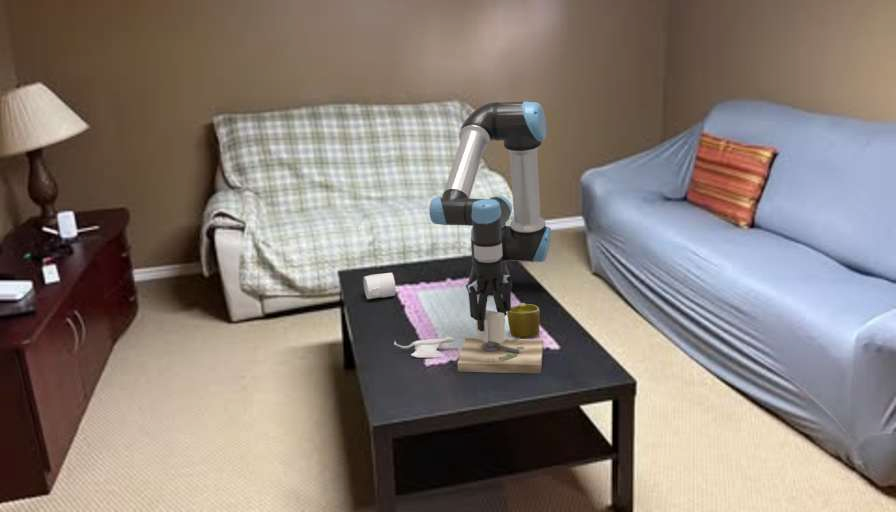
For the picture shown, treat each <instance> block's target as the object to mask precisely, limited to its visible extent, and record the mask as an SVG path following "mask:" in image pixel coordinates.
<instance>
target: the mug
mask: <svg viewBox="0 0 896 512" xmlns="http://www.w3.org/2000/svg"><path fill="white" fill-rule="evenodd" d="M540 312H541V311H540V307H539V306H537V305H535V304H529V303H527V304H526V303H525V302H521V303H519V304H517V305H511V310H510V311H507V312H506V313H507V315H506V316H507V323H508V328H509V332H510V335H511V336H512V337H513V338H514V339H516V338H518V339H528V338H529V339H530V338H534V337H538V336H539V334H540V329H541V328H540Z"/></svg>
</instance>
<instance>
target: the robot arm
mask: <svg viewBox="0 0 896 512" xmlns="http://www.w3.org/2000/svg"><path fill="white" fill-rule="evenodd" d="M546 119H547V118H546V115H545V111H544V108H543V106H542V105H541V104H540V103H539V102H534V101H533V102H532V101H526V100H525V101H505V102H502V101H501V102H500V101H499V102H496V101H492V102H488V103H485V104H483V105H481V106H479V107H478V108H476V109H475V110H474V111H473V112H472V113H470V114H469V116H468V117H467V118H466V119H465V120H464V122H463V123H462V125H461V128H460V131H459V134H458V138H459V144H458V148H457V151H456V154H455V157H454V160H453V163H452V166H451V169H450V172H449V174H448V175H449V176H448V178H447V181H446V183H445V186H444V191H443V193H442V196H439V197H433V198H432V199H431V201H430V204H429V208H428V209H429V211H428V212H429V213H428V214H429V218H430V221H431V222H432V224H435V225H439V226H440V225H441V226H442V225H443V226H468V227H470V226H471V227H472V228H471V230H470V244H471V245H470V246H471V247H470V248H471V265H472V266H471V269H470V270H471V271H470V275H469V277H468V280H467V284H466V286H465V288H466V290H467V293H468V303H469V313H470V315H469V316H470V318H471V319H473V320H475V321H476V320H477V323H478V330H480V335H481V340H482V341H484V342H485V343H487V342H488V325H487V320H486V319H485V313H486V310H487V304H488V298H489V295H490V296H493V300H494V304H495V307H496V308H495V310H496V312H500V313H504V322H506V321H505V320H506V318H505V317H506V316H507V312H508V311H510V310H511V307H512V305H511V304H512V303H511V302H512V300H511V298H512V297H511V292H512V291H511V290H513V277H512V276H511V275H510V271H509V270H508V267H507V262H508V261H509V262H528V263H529V262H530V263H541V262H542V263H543V262H544V261H546V260H547V258H548V255H549V251H550V245H551V238H552V228H551V227H549V226H547V225H546V220H545V219H544V218H543V217H541V203H540V202H541V201H540V199H541V198H540V186H539V184H540V183H539V180H540V179H539V167H538V166H539V164H538V149H540V147H541V146H542V142H543V141H545V139H546V138H547V120H546ZM492 141H496V142H497V141H501V142H503V147H504V149H505V150H506V151H508V153H509V164H510V166H509V168H510V181H511V194H512V204H511V202H510V200H509V199H508V198H506V197H505V196H501V195H494V196H492V197H489V198H471V197H470V196H471V194H472V190H473V186H474V183H475V181H476V180H475V179H476V177H477V175H478V174H477V173H478V172H479V171H478V170H479V166H480V164H481V162H482V157H483V154H484V150H485V149H486V148H488V147H489V145H490V142H492ZM512 209H513V210H512ZM512 212H513V219H512V220H511V221H510V222H509V225H507V222H508V221H509V219H510V217H511V215H512Z"/></svg>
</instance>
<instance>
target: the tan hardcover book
mask: <svg viewBox="0 0 896 512" xmlns="http://www.w3.org/2000/svg"><path fill="white" fill-rule="evenodd" d="M483 344H485V342H484V341H482V340H481V339H478V338H477V337H473V338H472V337H465V338H464V342H463V345H462V348H461V351H460V354H459V357H458V360H457V372H464V373H465V372H466V373H468V372H469V373H496V374H497V373H498V374H499V373H502V374H504V373H506V374H507V373H509V374H538V375H541V373H542V367H543V366H542V364H543V356H544V355H543V354H544V353H543V352H544V339H537V338H536V339H534V338H532V339H531V338H529V339H528V338H505V341H504V342H502V343H498V344H500V345H501V346H505V347H510V348H515V349H519V352H513V351H509V350H504V349H499V350H497V351H485V350H483V349H482V345H483Z"/></svg>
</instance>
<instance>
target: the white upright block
mask: <svg viewBox="0 0 896 512" xmlns="http://www.w3.org/2000/svg"><path fill="white" fill-rule="evenodd" d="M485 319H486V320H487V325H488V342H487V343H485V344H483V345H482V349H483V350H485V351H497V350H499V349H504V350H509V351H513V352H519V349H515V348H510V347H505V346H501V345H500V344H498V343H502V342H504V341H505V339H506V330H505V329H506V327H505V326H506V325H505V324H506V323H505V322H506V321H505V322H504V313H500V312H497V311H494V310H489V309H486V313H485ZM475 322H476V323H475V324H476V338H478V339H481V335H480V330H478V323H477V320H475Z"/></svg>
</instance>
